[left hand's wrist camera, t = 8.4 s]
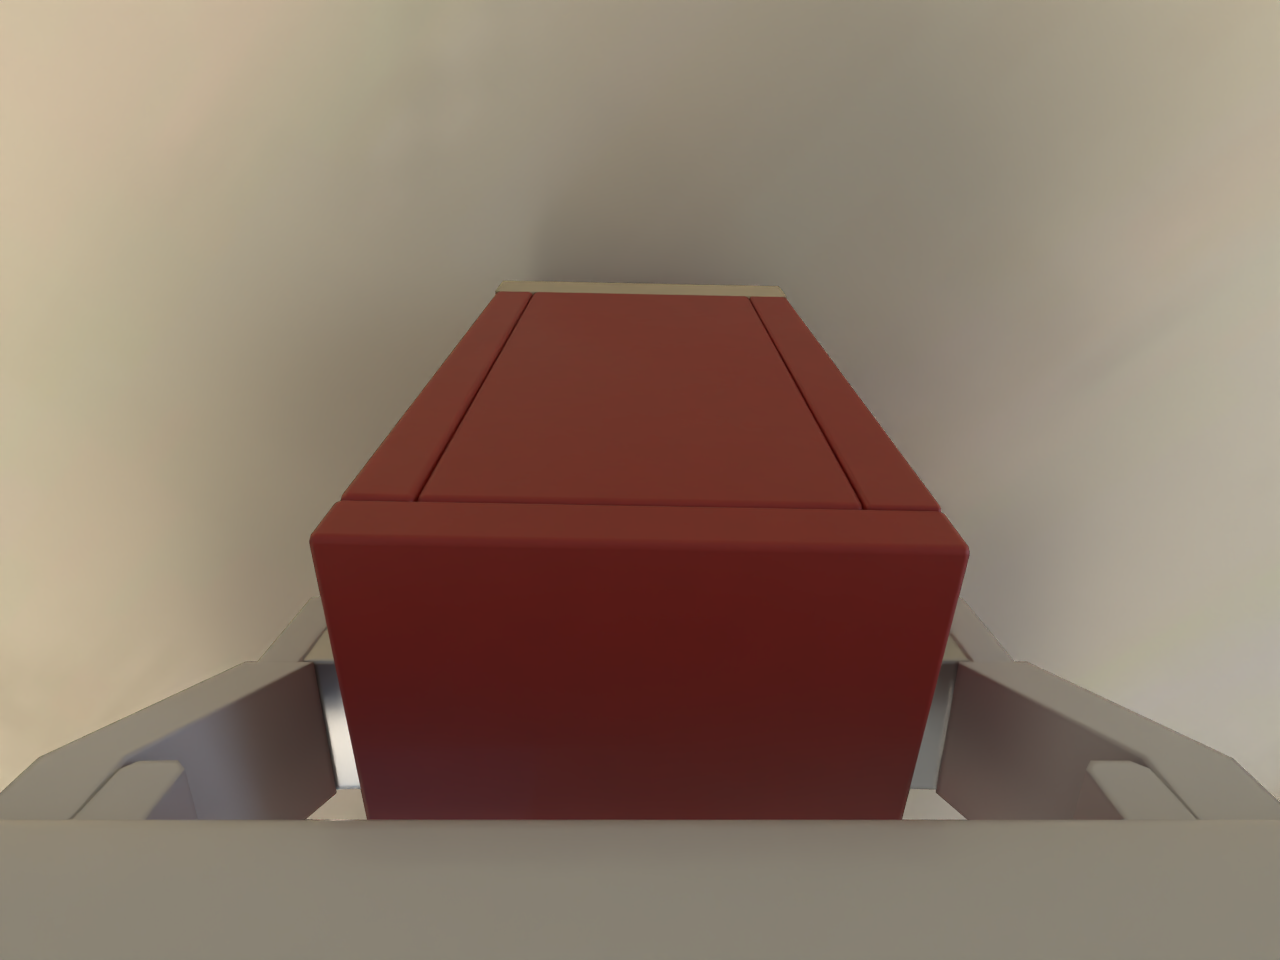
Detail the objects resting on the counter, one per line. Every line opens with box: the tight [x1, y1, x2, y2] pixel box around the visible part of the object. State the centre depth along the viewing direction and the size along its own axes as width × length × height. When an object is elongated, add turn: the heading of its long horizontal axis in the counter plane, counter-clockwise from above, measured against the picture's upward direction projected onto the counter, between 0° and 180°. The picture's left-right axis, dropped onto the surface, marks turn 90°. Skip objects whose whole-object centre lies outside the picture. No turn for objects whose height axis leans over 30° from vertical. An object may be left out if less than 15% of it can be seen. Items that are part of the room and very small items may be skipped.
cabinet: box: [309, 281, 969, 820], centre depth 15 cm, size 19×6×10 cm, turn 179°
